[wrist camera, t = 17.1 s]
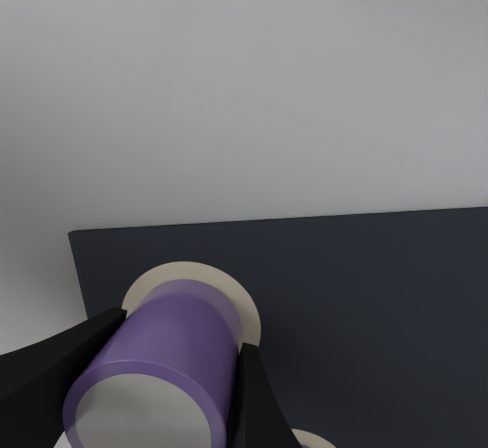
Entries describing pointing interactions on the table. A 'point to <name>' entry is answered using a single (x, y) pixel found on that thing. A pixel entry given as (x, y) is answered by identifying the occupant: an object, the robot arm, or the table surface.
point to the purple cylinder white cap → (161, 374)
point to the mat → (334, 314)
